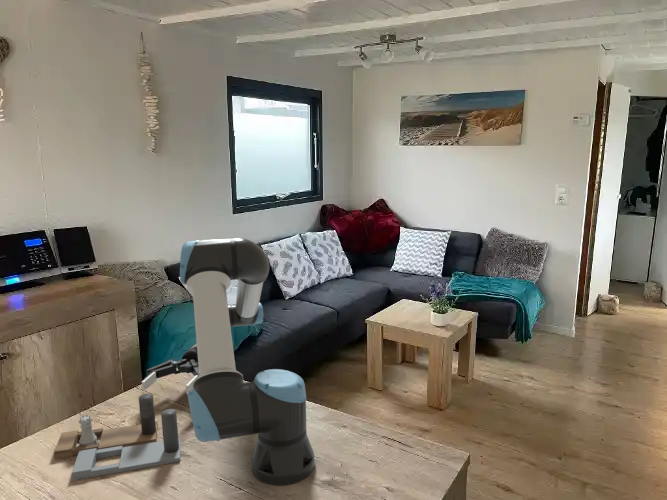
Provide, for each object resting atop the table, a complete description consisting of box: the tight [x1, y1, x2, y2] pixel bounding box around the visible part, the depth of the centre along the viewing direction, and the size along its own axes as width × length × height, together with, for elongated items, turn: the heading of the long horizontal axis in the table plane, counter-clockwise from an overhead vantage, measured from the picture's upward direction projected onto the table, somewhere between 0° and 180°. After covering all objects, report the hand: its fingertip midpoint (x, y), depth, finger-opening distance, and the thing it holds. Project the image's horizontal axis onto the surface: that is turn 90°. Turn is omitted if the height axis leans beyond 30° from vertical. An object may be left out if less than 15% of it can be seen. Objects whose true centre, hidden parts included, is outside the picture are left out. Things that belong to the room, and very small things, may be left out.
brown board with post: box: [53, 393, 159, 460], centre depth 133 cm, size 9×24×11 cm, turn 106°
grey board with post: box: [71, 408, 181, 481], centre depth 125 cm, size 9×24×11 cm, turn 106°
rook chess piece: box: [78, 414, 98, 447], centre depth 132 cm, size 4×4×8 cm
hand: (164, 388), depth 145 cm, fingers open, 13 cm apart
